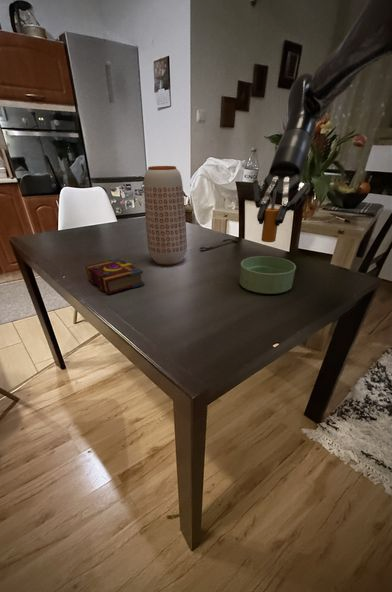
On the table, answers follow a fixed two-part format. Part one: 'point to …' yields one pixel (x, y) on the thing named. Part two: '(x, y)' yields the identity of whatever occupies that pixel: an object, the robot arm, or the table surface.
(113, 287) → the decorative book
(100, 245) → the table surface
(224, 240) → the tomahawk
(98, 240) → the table surface
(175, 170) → the patterned ceramic vase
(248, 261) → the green round bowl
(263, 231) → the screwdriver
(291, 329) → the table surface
